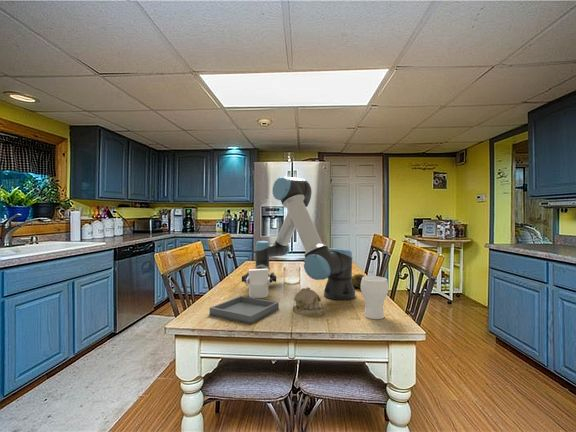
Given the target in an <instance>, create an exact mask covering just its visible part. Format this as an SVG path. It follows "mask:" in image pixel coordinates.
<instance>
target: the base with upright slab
mask: <svg viewBox="0 0 576 432" xmlns="http://www.w3.org/2000/svg"><path fill="white" fill-rule="evenodd" d="M248 273H249V284H248V297H251V298H257V299H263V298H267V297H268V296H269V286H268V269H255V268H253V269H251V268H250V269H248Z"/></svg>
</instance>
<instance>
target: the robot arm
mask: <svg viewBox="0 0 576 432" xmlns="http://www.w3.org/2000/svg"><path fill="white" fill-rule="evenodd" d="M272 195H273V198H274V199H276V200H277V201H280V203H281V205H282V207H283V208H284V209H285V208H286V209H287V213H286V216H285V218H284V219H283V223H282V225H281V227H280V230H279V232H278V234H277V237H276V238H275V241H274V243H270V242H269V241H268V240H258V241H256V242H255V268H254V269H268V287H270V284H271V283H272V284H273V282H274V283H276V282H277V276H276V275H275V272H271V273H270V271H271V270H270V269H271V267H270V258H275V257H283V256H286V255H288V254H289V253H290V245H289V243H290V241H291V239H292V237H293V235H294V233H295V230H296V232H297V233H298V237H299V239H300V241H301V243H302V246H303V248H304V250H305V252H304V255H303V256H304V258H305V259H304V260H303V263H304V264H303V268H304V271H305V273H306V275H307V276H308V277H309V278H311V279H313V280H316V281H319V280H321V281H324V280H326V279H327V280H326V283H325V286H324V290H323V296H324V297H325V298H328V299H330V300H338V301H346V300H347V301H348V300H352V299H353V300H354V299H355V298H356V290H355V287H354V286H353V283H352V276H353V272H352V271H353V253H352V251H351V250H349V249H344V248H342V249H341V248H332V247H328V246H327V245H326V244H324V243H323V242H322V240H321V236H320V235H319V232H318V230H317V228H316V226H315V224H314V222H313V220H312V217H311V216H310V213H309V211H308V209H307V207H308V206H309V204H310V202H311V198H312V187H311V184H310V182H308V181H307V179H304V178H301V177H291V176H286V175H285V176H280V177H277V178H276V180H275V181H274V182H273V185H272ZM269 273H270V274H269ZM241 283H244V284H245V286H248V287H249V272H246V274H244V275H242V276H241Z"/></svg>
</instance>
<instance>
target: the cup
mask: <svg viewBox="0 0 576 432" xmlns="http://www.w3.org/2000/svg"><path fill="white" fill-rule="evenodd" d="M360 292H361V295H362V297H363V300H364V305H365V308H364V311H363V312H364V313H363V316H364V317H365V318H367V319H371V320H381V319H384V318H385V313H384V304H385V300H386V299H387V297H388V293H389V282H388V279H387V278H386V277H382V276H378V275H377V276H376V275H367V276H365V275H364V277H363V278H362V281H361V288H360Z"/></svg>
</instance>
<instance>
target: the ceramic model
mask: <svg viewBox="0 0 576 432" xmlns="http://www.w3.org/2000/svg"><path fill="white" fill-rule="evenodd" d="M293 300H294V302H295V305H293V306H292V311H293V312H294V313H295V314H297V315H301V316H306V317H311V318H312V317H313V318H316V317H320V316H322V315H323V314H324V311H325V310H324V308H323V307H320V302H322V299H321V297H320V295H319V294H317V293H316V291H315V290H312V289H311V288H310V287H306V288H301V289H300V290H299V291H298V292H297V293H296V294H295V295H294V298H293Z"/></svg>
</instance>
